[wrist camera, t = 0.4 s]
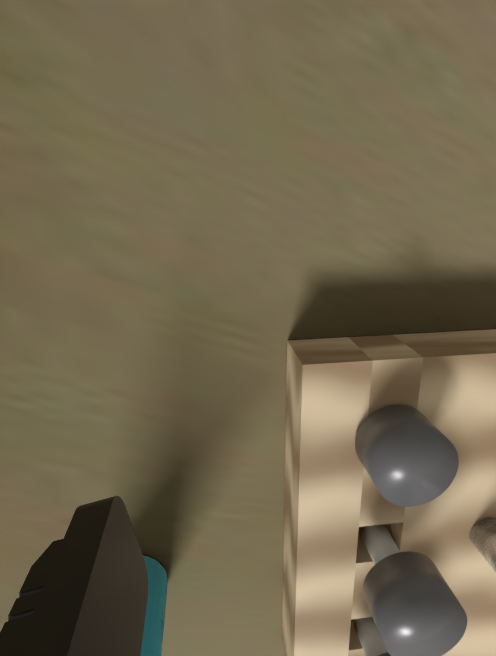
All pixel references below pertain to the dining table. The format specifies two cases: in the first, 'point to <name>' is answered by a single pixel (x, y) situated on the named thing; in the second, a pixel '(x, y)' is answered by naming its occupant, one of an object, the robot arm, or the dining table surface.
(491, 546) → the orange light bulb
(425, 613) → the knob middle
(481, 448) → the panel
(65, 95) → the dining table surface
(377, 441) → the knob
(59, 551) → the robot arm
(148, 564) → the teal bottle
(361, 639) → the knob
